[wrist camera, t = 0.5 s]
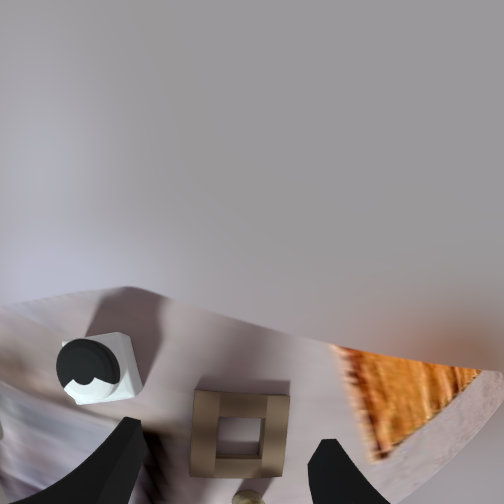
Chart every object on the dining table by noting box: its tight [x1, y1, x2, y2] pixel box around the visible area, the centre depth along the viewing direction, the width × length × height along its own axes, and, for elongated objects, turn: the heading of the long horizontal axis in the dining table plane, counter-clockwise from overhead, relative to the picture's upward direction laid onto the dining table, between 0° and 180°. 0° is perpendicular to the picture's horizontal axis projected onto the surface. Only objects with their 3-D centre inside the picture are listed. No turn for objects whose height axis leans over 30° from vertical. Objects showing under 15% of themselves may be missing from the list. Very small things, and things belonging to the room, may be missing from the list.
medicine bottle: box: [56, 332, 143, 405], centre depth 26 cm, size 7×7×12 cm
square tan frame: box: [189, 389, 290, 478], centre depth 31 cm, size 12×12×2 cm
